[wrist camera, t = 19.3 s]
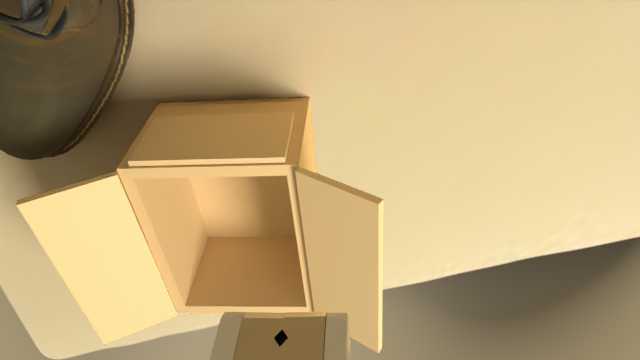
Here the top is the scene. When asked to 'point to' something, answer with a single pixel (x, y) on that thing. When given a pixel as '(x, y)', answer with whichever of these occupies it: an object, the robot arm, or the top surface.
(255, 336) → the robot arm
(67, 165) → the top surface
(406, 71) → the top surface
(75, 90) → the boot
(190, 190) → the carton
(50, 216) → the flap
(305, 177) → the flap
